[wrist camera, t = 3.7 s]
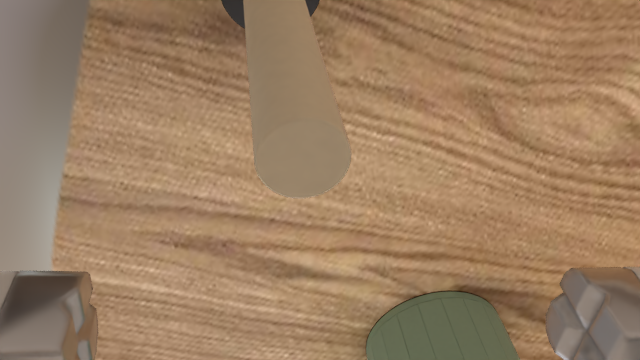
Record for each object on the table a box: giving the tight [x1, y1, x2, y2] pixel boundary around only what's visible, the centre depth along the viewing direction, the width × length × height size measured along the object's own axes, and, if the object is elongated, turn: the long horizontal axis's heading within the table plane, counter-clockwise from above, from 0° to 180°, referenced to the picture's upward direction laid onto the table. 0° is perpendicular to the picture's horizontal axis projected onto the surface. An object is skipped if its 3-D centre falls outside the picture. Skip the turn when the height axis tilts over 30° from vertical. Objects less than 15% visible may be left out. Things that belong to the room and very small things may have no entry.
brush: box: [221, 0, 351, 198], centre depth 19 cm, size 4×4×15 cm
